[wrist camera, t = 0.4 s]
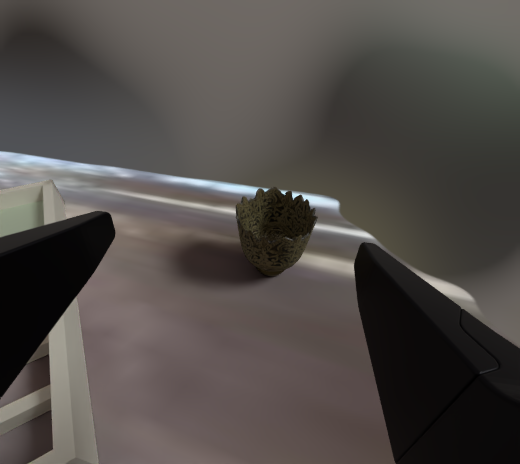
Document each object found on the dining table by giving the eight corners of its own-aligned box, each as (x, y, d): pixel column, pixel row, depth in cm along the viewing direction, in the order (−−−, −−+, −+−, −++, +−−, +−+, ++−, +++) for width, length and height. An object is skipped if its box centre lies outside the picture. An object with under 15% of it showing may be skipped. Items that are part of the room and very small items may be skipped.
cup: (266, 307, 26) (273, 251, 20) (223, 261, 30) (219, 204, 24) (317, 270, 29) (334, 214, 24) (272, 234, 33) (278, 179, 28)
